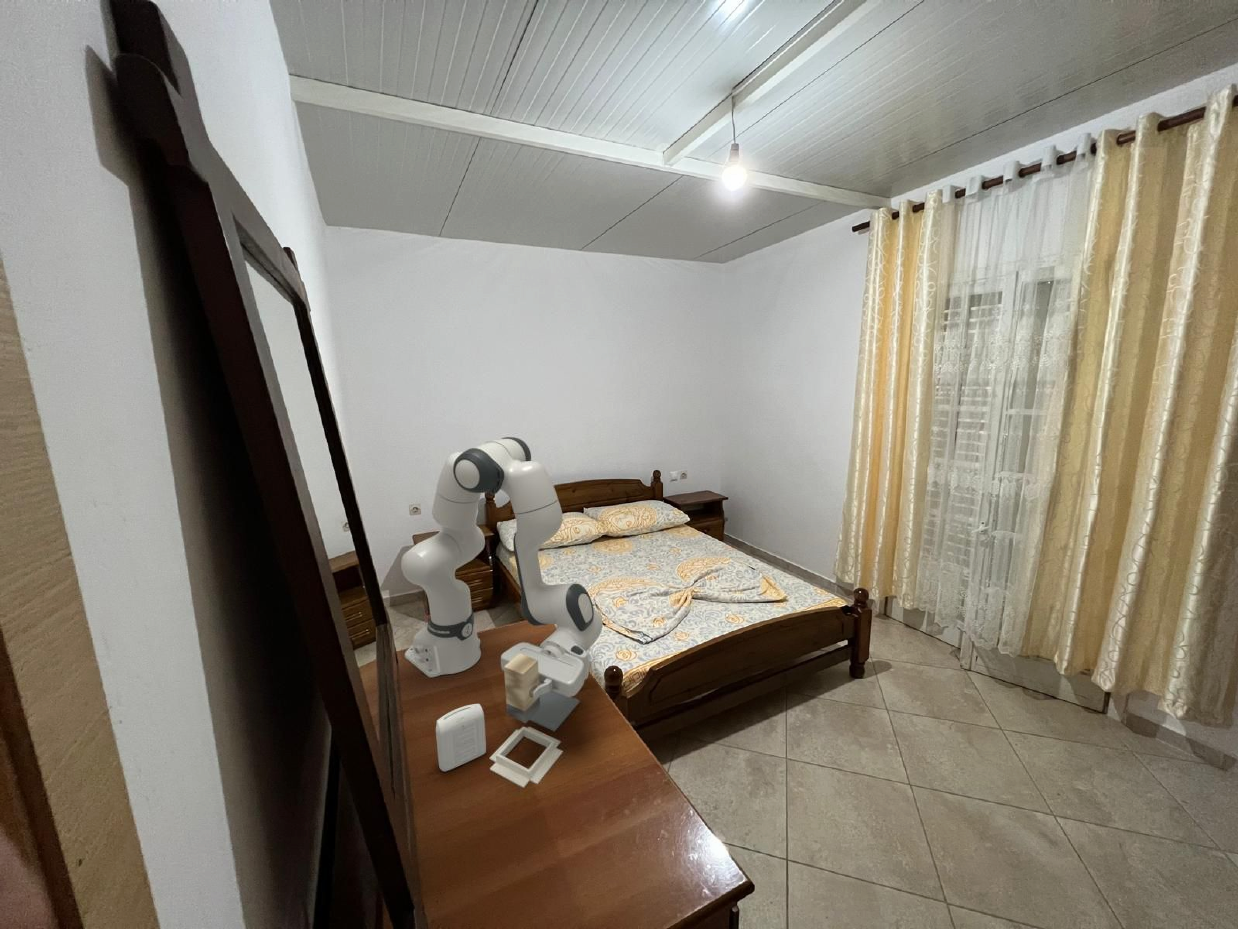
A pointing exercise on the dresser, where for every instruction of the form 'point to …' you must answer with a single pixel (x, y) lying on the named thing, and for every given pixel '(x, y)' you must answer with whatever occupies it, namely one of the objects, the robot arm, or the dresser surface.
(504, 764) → the flanged square frame
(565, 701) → the slate mat
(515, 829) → the dresser surface
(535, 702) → the block
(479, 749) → the photo printer
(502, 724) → the dresser surface
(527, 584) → the robot arm
